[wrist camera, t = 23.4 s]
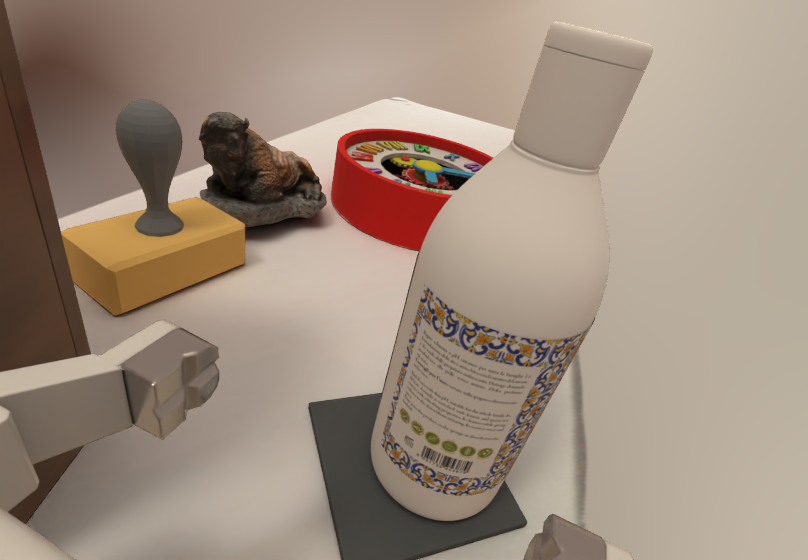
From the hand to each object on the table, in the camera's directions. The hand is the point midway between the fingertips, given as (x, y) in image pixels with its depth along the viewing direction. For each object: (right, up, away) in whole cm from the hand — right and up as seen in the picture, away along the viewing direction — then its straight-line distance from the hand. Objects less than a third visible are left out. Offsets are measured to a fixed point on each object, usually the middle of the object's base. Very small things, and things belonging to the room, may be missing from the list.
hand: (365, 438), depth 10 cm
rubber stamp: (-17, +4, +22) cm, 28 cm away
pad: (+1, -6, +13) cm, 15 cm away
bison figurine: (-12, +9, +32) cm, 35 cm away
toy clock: (+2, +12, +41) cm, 43 cm away
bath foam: (+2, -6, +13) cm, 15 cm away
